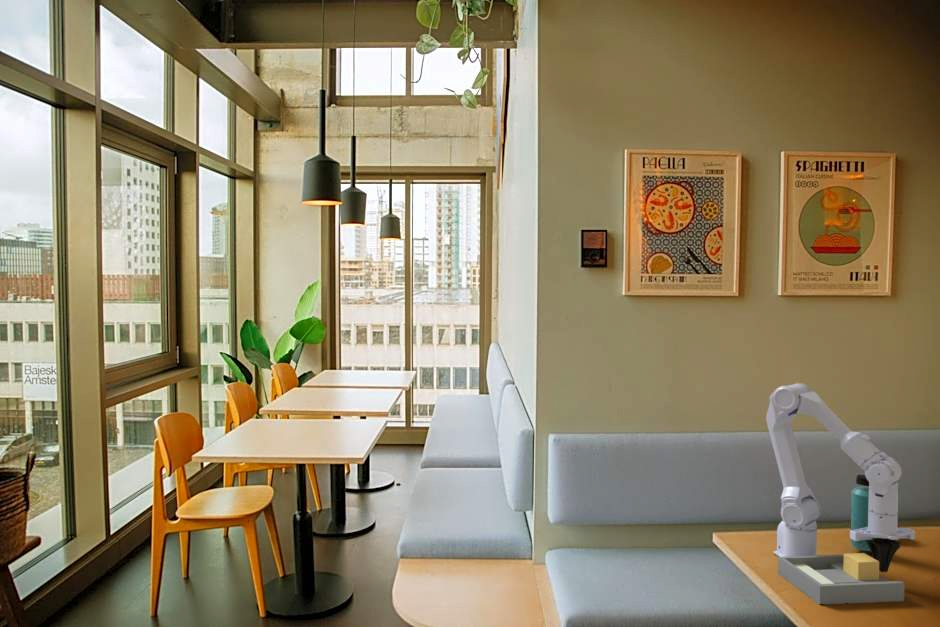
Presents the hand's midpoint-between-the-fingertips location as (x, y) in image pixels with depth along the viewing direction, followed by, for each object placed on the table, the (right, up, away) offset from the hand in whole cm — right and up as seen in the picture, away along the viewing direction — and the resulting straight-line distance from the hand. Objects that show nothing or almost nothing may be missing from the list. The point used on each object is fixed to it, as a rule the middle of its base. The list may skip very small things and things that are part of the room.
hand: (881, 570), depth 150 cm
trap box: (-11, -3, -1) cm, 11 cm away
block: (-5, -1, 0) cm, 5 cm away
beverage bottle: (+8, -3, +19) cm, 21 cm away
